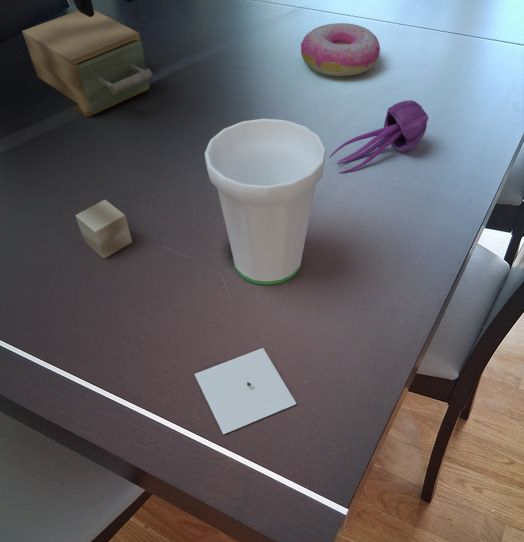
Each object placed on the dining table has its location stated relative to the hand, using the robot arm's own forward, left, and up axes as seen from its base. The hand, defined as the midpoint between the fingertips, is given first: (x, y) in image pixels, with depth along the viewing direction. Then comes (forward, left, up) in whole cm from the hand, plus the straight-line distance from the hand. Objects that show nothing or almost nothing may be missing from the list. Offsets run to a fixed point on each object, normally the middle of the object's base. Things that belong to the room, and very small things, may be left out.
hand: (105, 5), depth 80 cm
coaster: (-24, -54, -16) cm, 61 cm away
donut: (+35, -15, -16) cm, 41 cm away
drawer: (0, +6, -15) cm, 16 cm away
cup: (-9, -42, -16) cm, 46 cm away
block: (-21, -25, -16) cm, 36 cm away
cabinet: (0, +10, -16) cm, 19 cm away
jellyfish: (+18, -37, -16) cm, 44 cm away
